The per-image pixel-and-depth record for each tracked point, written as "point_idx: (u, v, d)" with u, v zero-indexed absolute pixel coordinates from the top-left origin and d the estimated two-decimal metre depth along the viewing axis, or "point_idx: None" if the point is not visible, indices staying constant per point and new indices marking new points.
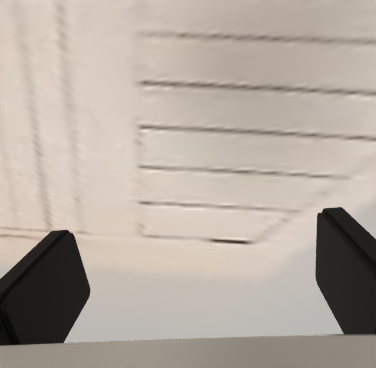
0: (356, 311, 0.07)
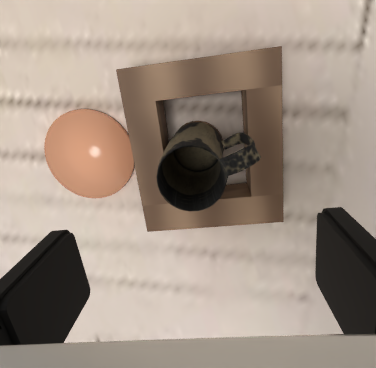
0: (356, 311, 0.07)
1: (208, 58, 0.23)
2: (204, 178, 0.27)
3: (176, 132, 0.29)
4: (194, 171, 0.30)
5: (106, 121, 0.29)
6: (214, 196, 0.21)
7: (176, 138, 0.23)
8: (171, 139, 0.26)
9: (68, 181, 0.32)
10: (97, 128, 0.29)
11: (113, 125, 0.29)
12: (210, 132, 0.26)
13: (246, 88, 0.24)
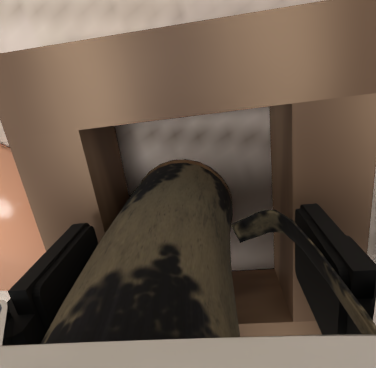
0: (324, 300, 0.08)
1: (199, 26, 0.09)
2: None
3: (142, 181, 0.15)
4: None
5: (5, 161, 0.15)
6: None
7: (117, 231, 0.09)
8: (120, 212, 0.12)
9: None
10: None
11: None
12: (206, 193, 0.12)
13: (293, 100, 0.10)
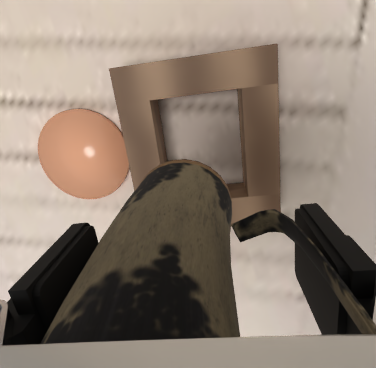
0: (324, 300, 0.08)
1: (203, 56, 0.23)
2: None
3: (142, 180, 0.15)
4: None
5: (100, 121, 0.29)
6: None
7: (117, 231, 0.09)
8: (120, 212, 0.12)
9: (62, 182, 0.31)
10: (91, 128, 0.29)
11: (107, 125, 0.29)
12: (206, 192, 0.12)
13: (242, 87, 0.23)
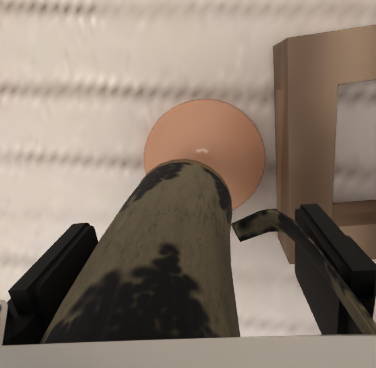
0: (325, 300, 0.08)
1: None
2: None
3: None
4: None
5: (234, 115, 0.22)
6: None
7: (117, 231, 0.09)
8: (119, 211, 0.12)
9: None
10: (220, 125, 0.22)
11: (243, 121, 0.22)
12: (206, 192, 0.12)
13: None
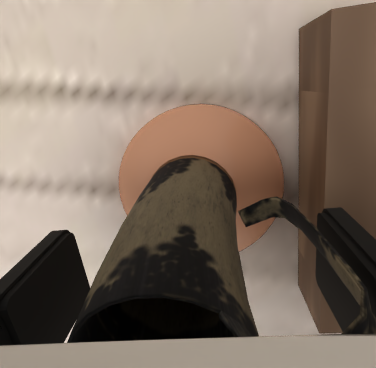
0: (356, 311, 0.07)
1: None
2: None
3: None
4: None
5: (242, 127, 0.15)
6: None
7: (138, 217, 0.10)
8: (136, 202, 0.13)
9: None
10: (223, 140, 0.16)
11: (255, 134, 0.15)
12: (214, 184, 0.13)
13: None
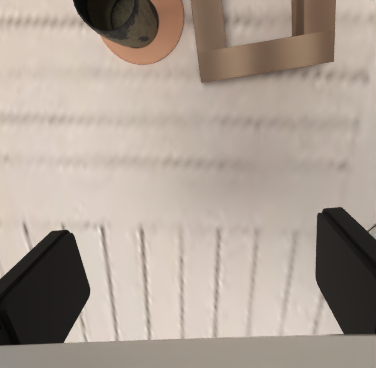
0: (356, 311, 0.07)
1: None
2: None
3: None
4: (133, 46, 0.32)
5: None
6: None
7: None
8: None
9: (118, 46, 0.33)
10: None
11: None
12: None
13: None
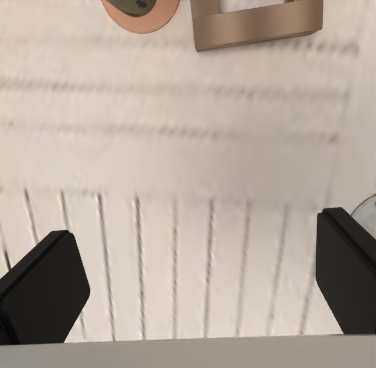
0: (356, 311, 0.07)
1: None
2: None
3: None
4: None
5: None
6: None
7: None
8: None
9: (118, 14, 0.34)
10: None
11: None
12: None
13: None
